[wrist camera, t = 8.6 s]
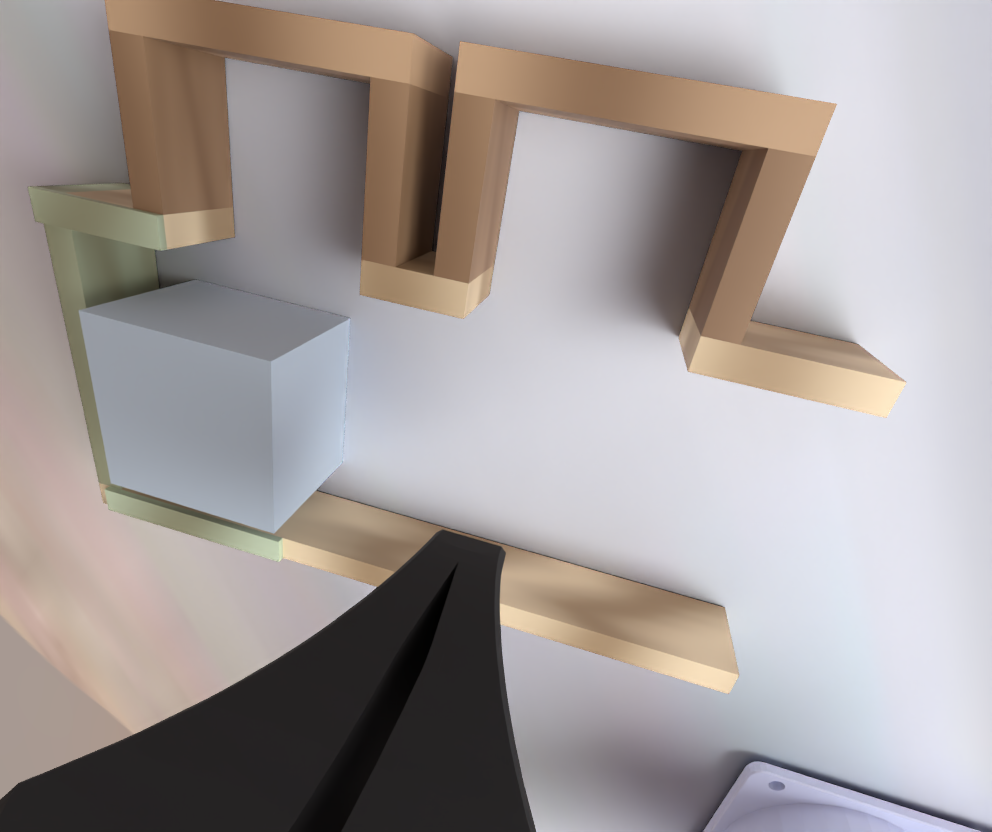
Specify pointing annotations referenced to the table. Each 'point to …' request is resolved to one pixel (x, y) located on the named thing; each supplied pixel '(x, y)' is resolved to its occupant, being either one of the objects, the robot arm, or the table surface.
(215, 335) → the block
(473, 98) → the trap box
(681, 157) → the table surface
